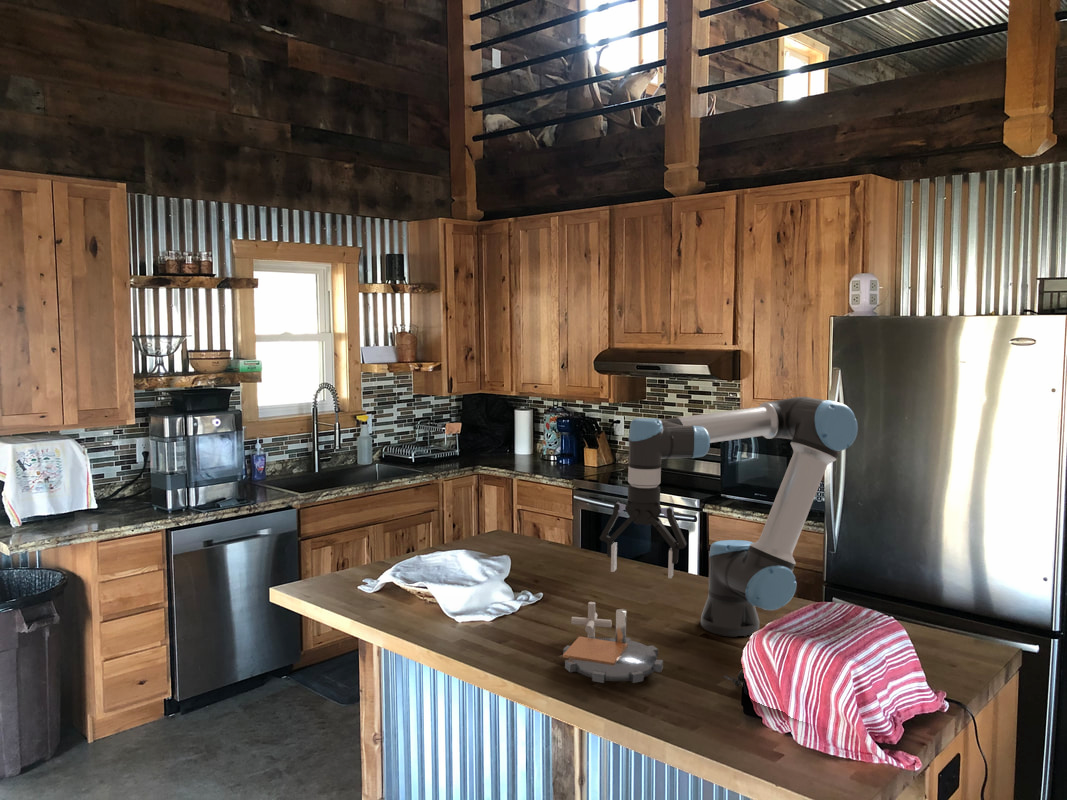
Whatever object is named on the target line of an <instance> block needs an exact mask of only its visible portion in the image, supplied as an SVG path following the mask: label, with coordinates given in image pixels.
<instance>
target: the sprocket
mask: <svg viewBox="0 0 1067 800" xmlns="http://www.w3.org/2000/svg"><path fill="white" fill-rule="evenodd" d="M562 651H563V652H562V653H563V654H562V658H567V659H565V660H564V669H566V670H567V671H568V672H569V673H575V672H576V673H578V674H580V675H582V676H584V677H586V678H587V677H588V678H590V679H592V680H591V681H592V682H596V683H600V684H601V683H602V684H604V683H605V682H607V681H608V682H629V681H630V682H631V683H633V684H634V683H640V682H644V678H646V677H648V676H650V675H652V673H653V672H655V673H661V672H662V670H663V669H664V660H663V659H657V658H658V657H659V648H657V647H656V646H655V645H653V644H652V645H646V644H643V643H640V642H638V641H635V640H631V637H627V609H624V608H619V609H616V610H615V637H597V638H596V636H595V637H588V636H587V637H585V636H580V635H579V636H578V637H577V638H576V640H574V641H573V643H572V644H571V645H566V646H564V648H563V650H562Z"/></svg>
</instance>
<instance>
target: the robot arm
mask: <svg viewBox="0 0 1067 800" xmlns="http://www.w3.org/2000/svg"><path fill="white" fill-rule="evenodd" d="M858 426H859V425H858V420H857V419H856V416H855V413H854V411H853V410H852V409H851V408H850V407H849V406H848V405H846V404H845V403H842V402H838V401H834V400H831V399H821V398H820V399H819V398H813V397H807V396H797V397H791V398H785V399H783V398H782V399H778V400H772V401H766V402H762V403H760V404H759V406H758V407H757V406H756V407H749V408H741V409H732V410H725V411H718V412H710V413H702V414H694V415H686V416H680V417H679V416H677V417H673V418H672V417H670V418H661V419H660V418H657V417H653V418H652V417H651V418H649V417H638V418H633V419H632V420H631V422H630V425H629V429H628V430H629V431H628V470H627V471H628V472H627V482H628V484H629V485H628V486H627V503H626V504H624V503H621V502H620V501H617V502H616V503H615V504H614V505H613V510H612V511H613V512H612V514H611V516H610V517H609V520H608V521H607V523H606V526H604V529H603V530H602V532H601V534H600V536H599V540H600V541H601V542H605V543H606V545H607V546H606V555H607V557H609V558H610V572H611V573H614V572H615V571H617V569H618V568H617V566H618V565H617V564H618V562H617V561H618V560H617V557H618V541H617V542H615V540H616V539H617V538H618V537H619V536H620V535H621V534H622V533H623V532H624V531H625V530H626V529H627V528H628V526H629V525H631V523H634V524H636V525H645V526H650V525H652V526H653V527H654V528H655V529H656V530H657V532H658V533H659V534H660V535H661V537H662V538H663V539H664V540H665V542H666V543H667V545H668V546H669V547H670V548H669V549H668V565H667V566H668V567H667V569H668V570H667V578H668V579H672V578H673V577H674V565H677V563H678V562H679V550H683V549H685V548H686V546H687V544H688V543H687V541H686V538H685V537H684V534H683V532H682V530H681V528H680V526H679V523H678V521H677V519H676V516H675V509H674V507H673V506H671V505H670V506H668V507H662V506H661V486H659V485H660V484H661V483H662V482H661V475H662V472H661V471H662V460H668V459H670V460H672V459H695V458H696V459H697V458H703V457H704V456H706V455H707V454H708V452H709V451H710V447H711V445H710V444H712V443H713V444H714V443H718V442H725V441H733V440H735V441H736V440H741V439H748V438H755V437H763V438H765V439H767V440H768V439H769V440H770V439H771V440H772V439H787V440H791V441H790V446H791V448H792V450H793V451H792V452H793V453H792V457H791V458H790V460H789V463H788V466H787V468H786V471H785V473H784V476H783V479H782V481H781V483H780V486H779V489H778V491H777V493H776V496H775V499H774V501H773V504H772V506H771V508H770V511H769V514H768V516H767V519H766V521H765V524H764V526H763V528H762V532H761V535H760V536H759V538H758V540H757V541H754V542H753V541H749V540H740V539H737V540H736V539H728V540H727V539H726V540H724V539H723V540H718V541H715V542H712V543H711V545H710V549H709V555H708V558H709V565H708V568H709V569H708V595H707V598H706V601H705V604H704V607H703V610H702V613H701V615H700V626H701V628H703V629H704V630H706V631H708V632H709V633H710V634H711V633H712V634H715V635H718V636H723V637H734V638H738V637H737V636H744V637H750V636H752V635H751V634H752V633H753V632H754V631H756V630H758V629H759V630H760V618H759V615H758V611H757V609H756V607H757V608H760V609H762V610H766V611H776V610H778V609H781V608H783V607H785V606H786V605H787V604H788V603H790V602H791V600H792V599H793V597H794V596H795V594H796V592H797V581H796V576H795V574H794V573H793V572H794V568H795V566H796V560H795V558H794V556H793V553H794V551H795V548H796V546H797V544H798V541H799V538H800V536H801V534H802V531H803V528H804V526H805V522H807V521H806V520H807V518H808V515H809V512H810V511H811V508H812V505H813V503H814V499H815V497H816V495H817V492H818V489H819V487H820V485H821V482H822V480H823V477H824V474H825V473H826V469H827V467H828V465H829V464H832V463H834V462H835V461H837V459H838V457H839V454H840V452H842V451H844V450H846V449H848V448H850V447H851V446H852V445H853V444H854V442H855V441H856V438H857V436H858V431H859V429H858V428H859V427H858ZM624 510H625V512H626V513H627V515H628V516H629V517H627V518H626V520H624V522H623V523H622V524H621V525H620V526H619V527H618V528H617V529H616V530H615V531H614V532H613V533H612V534H611V536H610V535H609V533H610V532H611V530H612V528H613V527H614V525H615V523H616V521H617V519H618V518H619V516H620V514H622V513H623V512H624ZM661 514H663V515H664V517H665V518H667V521H668V524H669V526H670V528H671V530H672V532H673V534H671V533H670V531H669V530H668V529H667V527H666V526H665V525H664V524H663V522H662V520H661V519H660V517H659V516H660V515H661ZM672 535H674V537H675V538H674V537H673V536H672ZM747 635H749V636H747Z"/></svg>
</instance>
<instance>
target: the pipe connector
mask: <svg viewBox="0 0 1067 800" xmlns="http://www.w3.org/2000/svg"><path fill="white" fill-rule="evenodd" d="M570 621H571V625H579V626H580V625H581V626H585V628H584V630H585V632H586V633H587V638H588V637H595V638H596V627H604V628H605V627H606V628H612V624H613V623H612V619H605V618H604V619H603V618H598V613H597V612H596V602H595V601H589V602H588V603H587V617H581V616H579V617H578V616H571V620H570Z"/></svg>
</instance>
